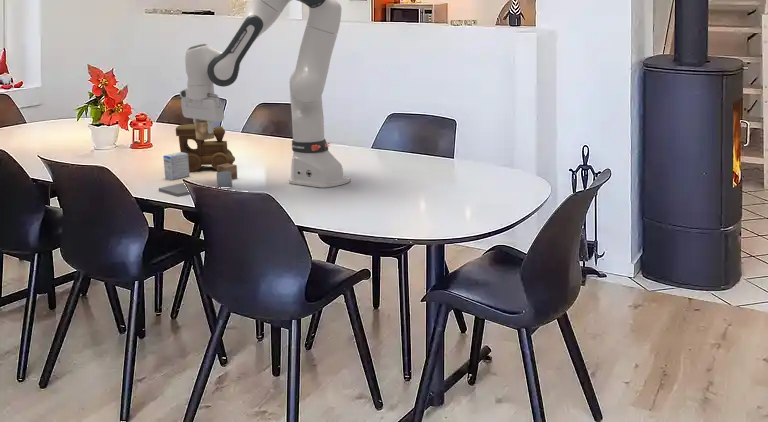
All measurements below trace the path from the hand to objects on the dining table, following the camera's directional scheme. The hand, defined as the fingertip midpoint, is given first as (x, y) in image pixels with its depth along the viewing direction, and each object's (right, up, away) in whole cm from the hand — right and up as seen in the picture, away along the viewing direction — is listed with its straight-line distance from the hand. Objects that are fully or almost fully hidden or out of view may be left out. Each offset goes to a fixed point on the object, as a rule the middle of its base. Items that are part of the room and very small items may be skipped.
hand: (204, 132), depth 303 cm
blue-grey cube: (+7, -19, -2) cm, 21 cm away
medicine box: (-13, -15, +14) cm, 24 cm away
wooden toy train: (-5, -12, +28) cm, 31 cm away
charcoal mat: (-6, -20, -6) cm, 22 cm away
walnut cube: (+6, -16, +11) cm, 20 cm away
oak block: (0, -2, +1) cm, 2 cm away
